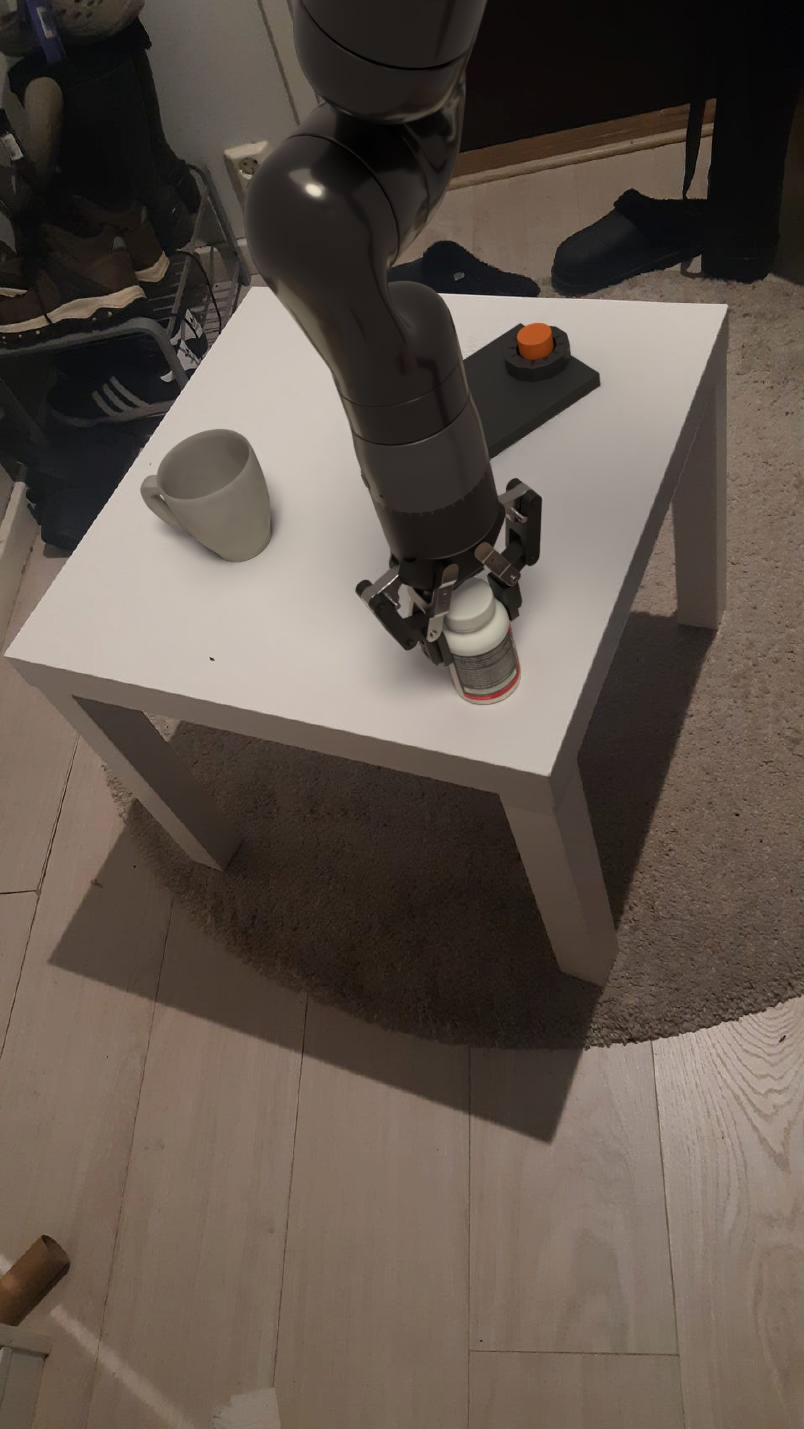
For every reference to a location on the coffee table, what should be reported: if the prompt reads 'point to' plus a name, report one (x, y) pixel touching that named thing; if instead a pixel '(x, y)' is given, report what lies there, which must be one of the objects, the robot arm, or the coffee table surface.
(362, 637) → the coffee table surface
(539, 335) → the button
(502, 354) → the scale
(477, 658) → the pill bottle
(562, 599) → the coffee table surface
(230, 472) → the mug
